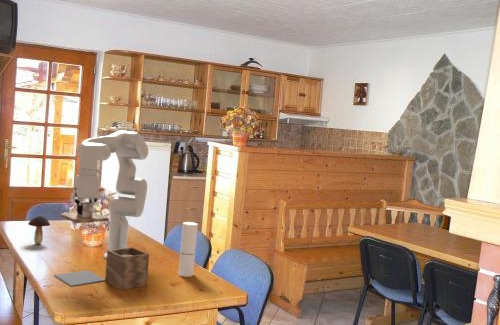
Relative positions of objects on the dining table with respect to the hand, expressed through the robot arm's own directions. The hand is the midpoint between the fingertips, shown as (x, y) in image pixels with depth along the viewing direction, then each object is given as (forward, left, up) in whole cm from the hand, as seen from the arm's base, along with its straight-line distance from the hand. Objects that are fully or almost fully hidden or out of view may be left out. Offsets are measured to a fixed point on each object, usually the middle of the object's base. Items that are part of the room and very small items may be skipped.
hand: (84, 213), depth 225 cm
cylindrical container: (-46, +17, -29) cm, 57 cm away
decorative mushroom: (-8, -63, -29) cm, 70 cm away
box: (-14, +15, -29) cm, 36 cm away
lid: (0, 0, -2) cm, 2 cm away
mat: (0, 0, -29) cm, 29 cm away
